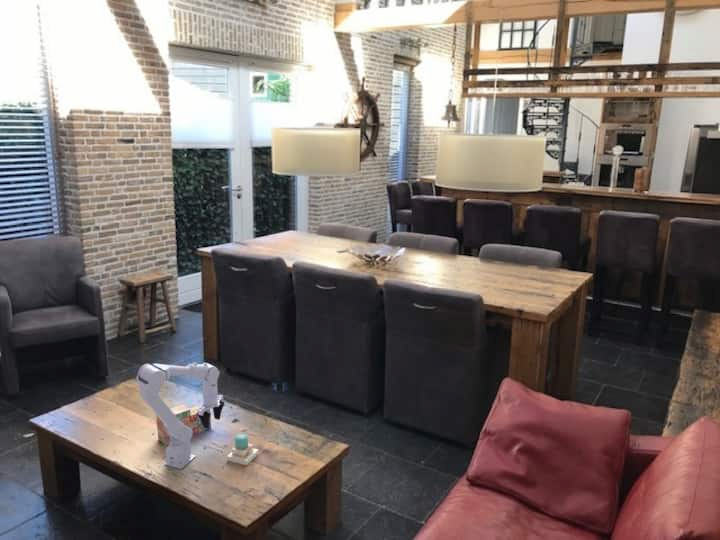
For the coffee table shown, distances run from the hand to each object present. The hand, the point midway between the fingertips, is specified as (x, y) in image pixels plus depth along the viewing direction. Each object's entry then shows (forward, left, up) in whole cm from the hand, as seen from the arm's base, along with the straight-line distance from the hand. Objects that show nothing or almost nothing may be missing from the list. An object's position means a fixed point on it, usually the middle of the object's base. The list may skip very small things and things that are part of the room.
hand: (211, 423), depth 244 cm
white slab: (-3, -16, -11) cm, 20 cm away
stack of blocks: (+3, +16, -10) cm, 19 cm away
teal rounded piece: (-3, -16, -6) cm, 17 cm away
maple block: (-3, -16, -8) cm, 18 cm away
